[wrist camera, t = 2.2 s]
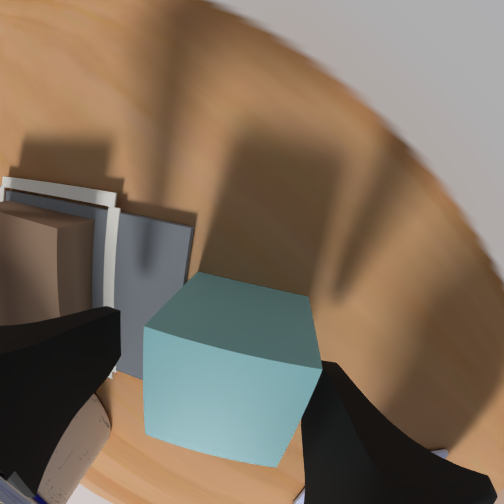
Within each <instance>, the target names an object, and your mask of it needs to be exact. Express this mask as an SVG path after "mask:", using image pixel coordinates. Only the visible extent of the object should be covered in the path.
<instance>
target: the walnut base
mask: <svg viewBox="0 0 504 504" xmlns="http://www.w3.org/2000/svg"><path fill="white" fill-rule="evenodd" d="M94 226H95V220H93V219H89V218H85V217H80V216H76V215H71V214H67V213H63V212H58V211H54V210H49V209H45V208H41V207H36V206H32V205H28V204H23V203H19V202H14V201H10V200H9V201H2V202H0V326H3V325H18V324H26V323H33V322H38V321H43V320H48V319H53V318H57V317H62V316H66V315H69V314H73V313H77V312H81V311H85V310H89V309H93V305H92V264H93V241H94Z"/></svg>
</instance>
